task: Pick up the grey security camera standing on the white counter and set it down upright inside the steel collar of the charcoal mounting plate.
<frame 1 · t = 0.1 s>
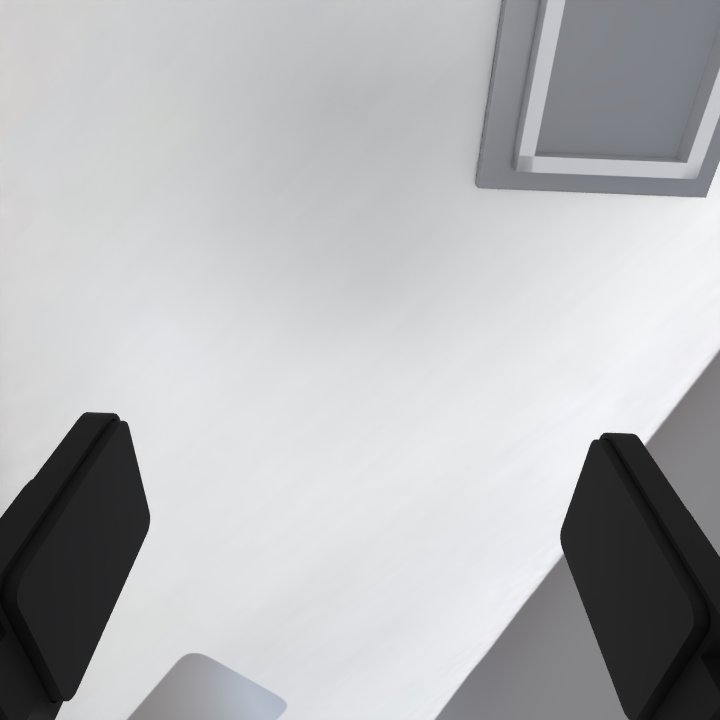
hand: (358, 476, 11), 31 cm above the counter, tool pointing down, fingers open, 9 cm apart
mounting plate: (618, 61, 34), on the counter
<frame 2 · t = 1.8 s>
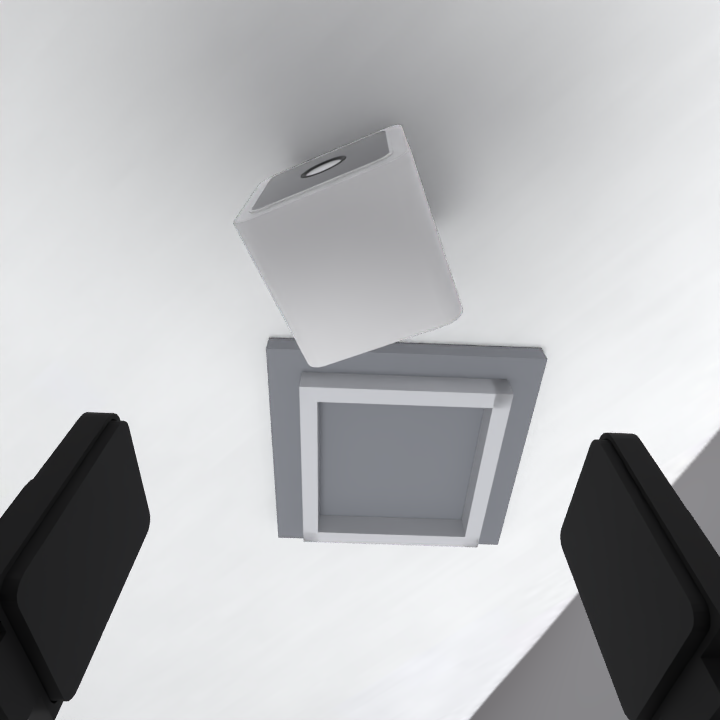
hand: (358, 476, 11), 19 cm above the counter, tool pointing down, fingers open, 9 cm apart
security camera: (359, 203, 27), on the counter
mounting plate: (395, 446, 35), on the counter
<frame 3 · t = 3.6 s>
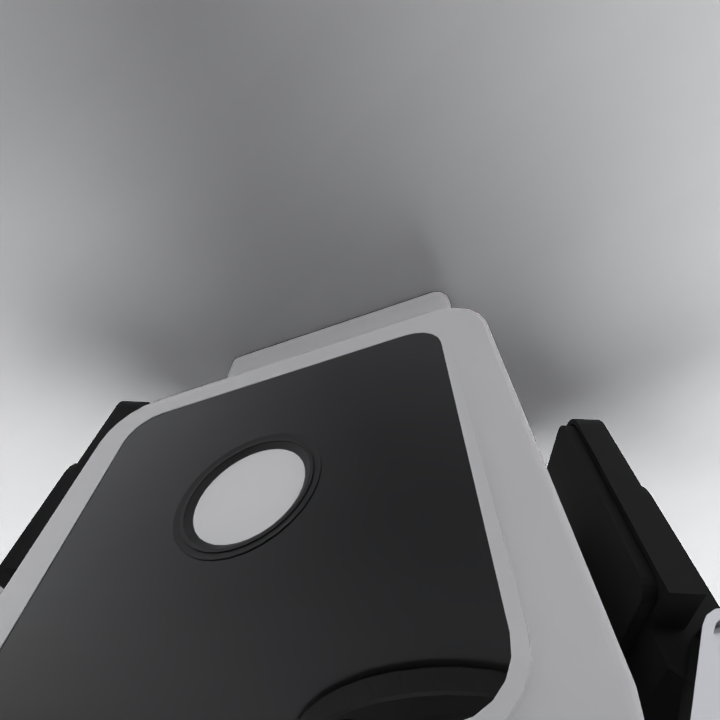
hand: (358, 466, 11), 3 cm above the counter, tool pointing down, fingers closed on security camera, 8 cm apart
security camera: (361, 386, 14), on the counter, touching gripper
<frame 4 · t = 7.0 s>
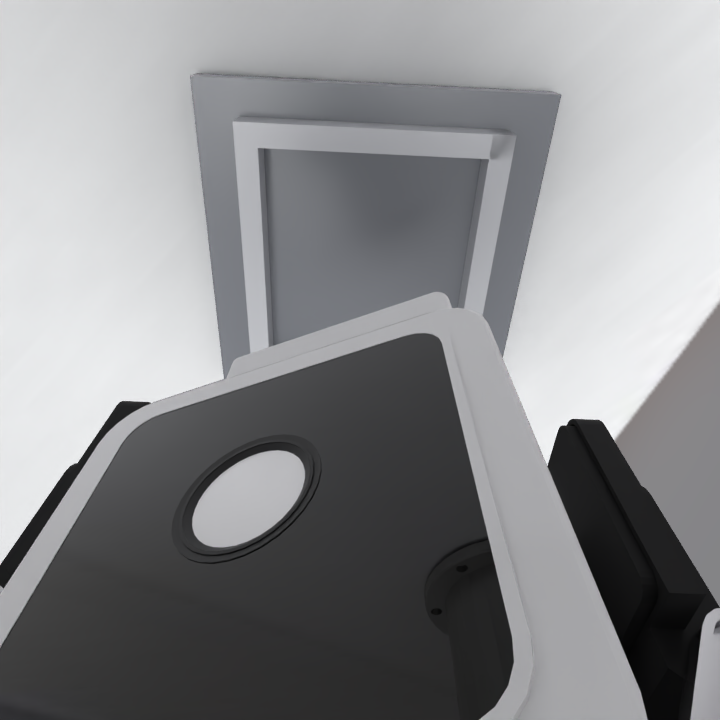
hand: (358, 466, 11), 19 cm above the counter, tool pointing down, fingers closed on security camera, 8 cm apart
security camera: (361, 386, 13), point 16 cm above the counter, touching gripper
mounting plate: (367, 252, 28), on the counter
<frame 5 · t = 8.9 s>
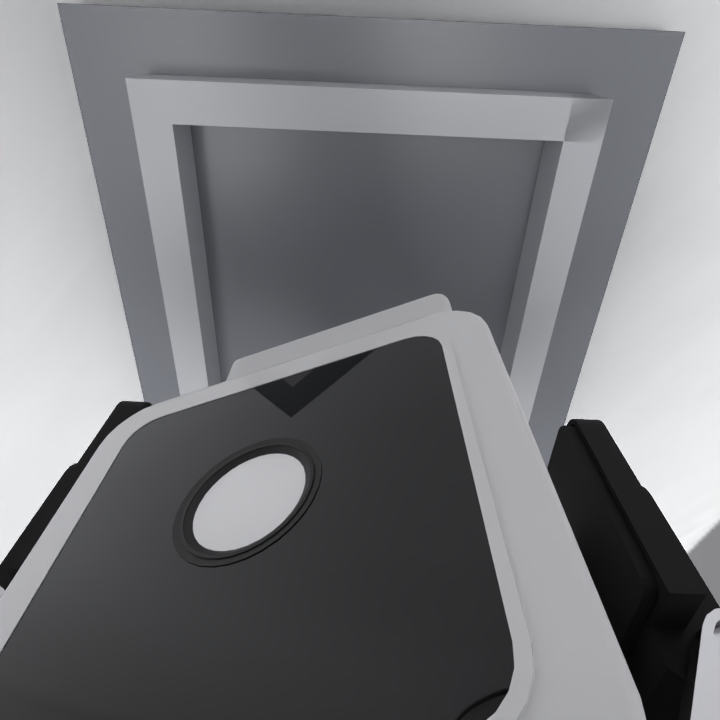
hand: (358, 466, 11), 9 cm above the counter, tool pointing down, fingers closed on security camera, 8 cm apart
security camera: (362, 388, 13), point 6 cm above the counter, touching gripper
mounting plate: (361, 287, 19), on the counter
when the fingers open (5 cm above the counter, at t = 10.3 s): security camera drops 1 cm, resting on mounting plate.
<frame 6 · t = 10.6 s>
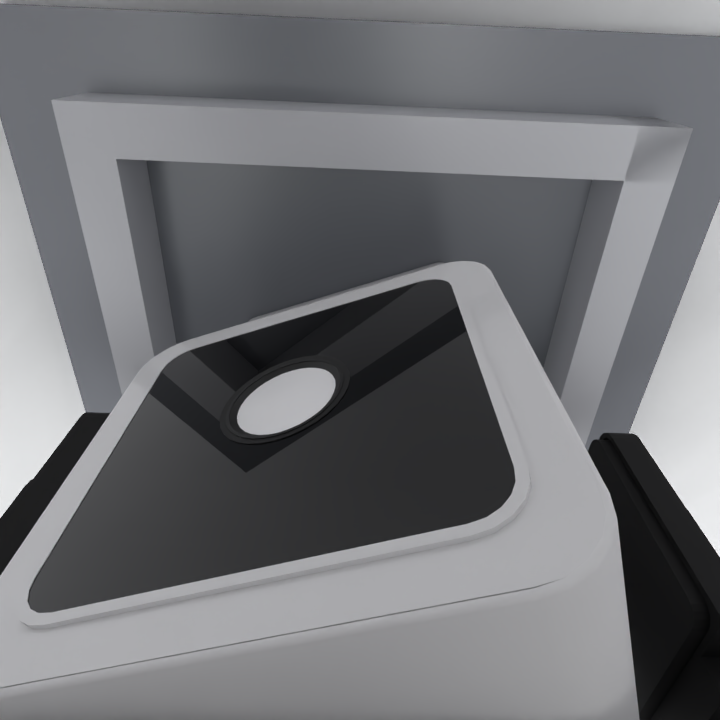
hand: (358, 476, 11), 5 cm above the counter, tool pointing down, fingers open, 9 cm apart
security camera: (365, 350, 15), point 1 cm above the counter, touching mounting plate
mounting plate: (361, 344, 16), on the counter
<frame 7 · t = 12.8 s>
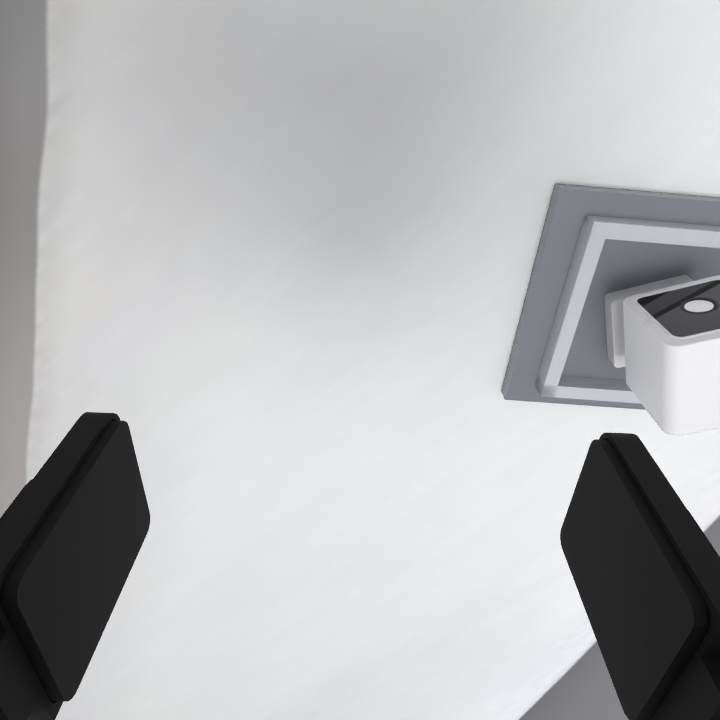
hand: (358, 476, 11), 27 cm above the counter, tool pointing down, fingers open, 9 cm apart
security camera: (644, 308, 37), point 1 cm above the counter, touching mounting plate
mounting plate: (634, 306, 38), on the counter
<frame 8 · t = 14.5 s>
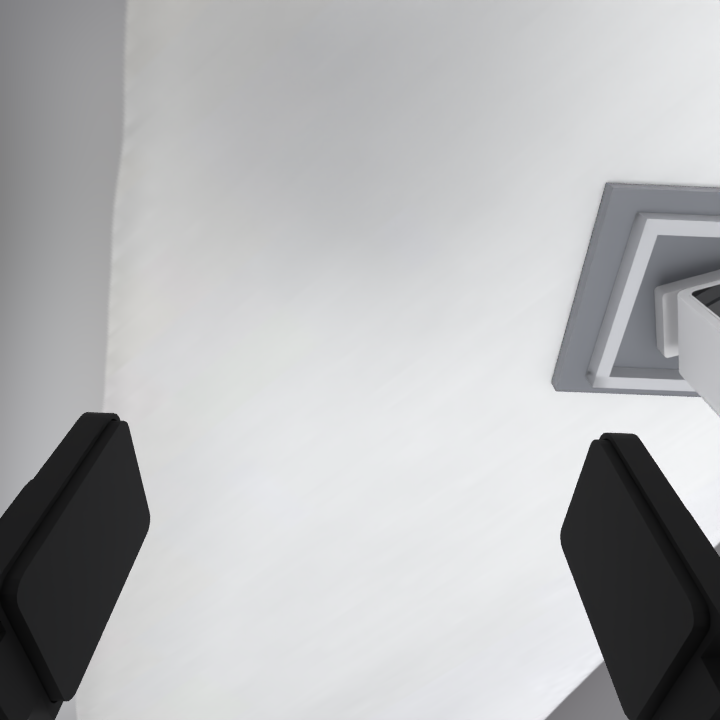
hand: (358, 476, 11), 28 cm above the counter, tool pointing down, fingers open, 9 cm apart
security camera: (693, 299, 38), point 1 cm above the counter, touching mounting plate
mounting plate: (682, 298, 39), on the counter
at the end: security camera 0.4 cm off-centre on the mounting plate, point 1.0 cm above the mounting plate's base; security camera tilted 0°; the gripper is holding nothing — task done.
